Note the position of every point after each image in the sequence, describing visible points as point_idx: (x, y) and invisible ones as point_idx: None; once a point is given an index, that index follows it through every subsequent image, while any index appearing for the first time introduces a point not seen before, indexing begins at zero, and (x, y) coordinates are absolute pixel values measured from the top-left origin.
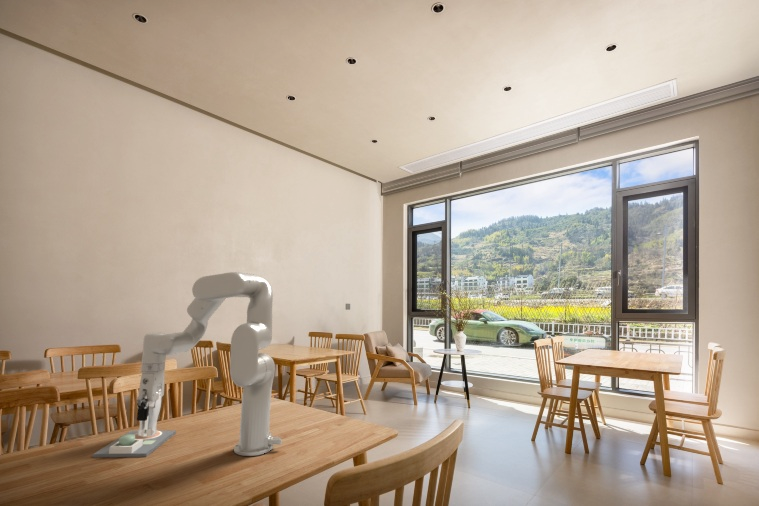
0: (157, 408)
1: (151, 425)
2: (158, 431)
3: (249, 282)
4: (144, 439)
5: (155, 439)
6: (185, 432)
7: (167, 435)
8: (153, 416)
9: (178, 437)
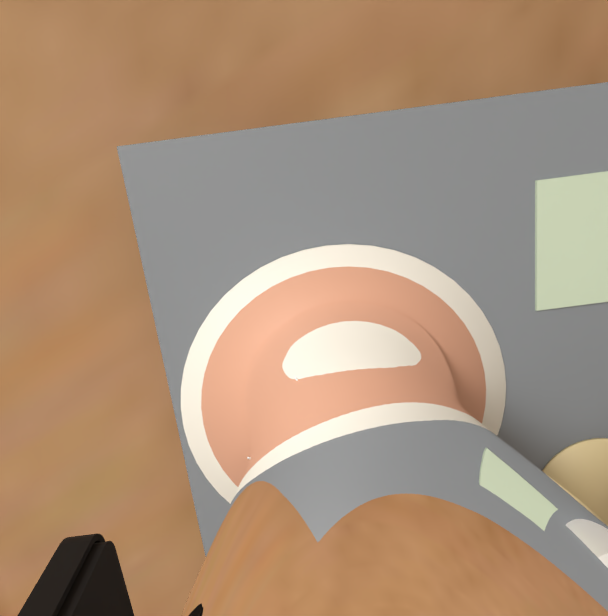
0: (544, 517)
1: (440, 387)
2: (208, 347)
3: None
4: (497, 342)
5: (486, 218)
6: (64, 26)
7: (331, 147)
8: (504, 446)
9: (273, 14)
